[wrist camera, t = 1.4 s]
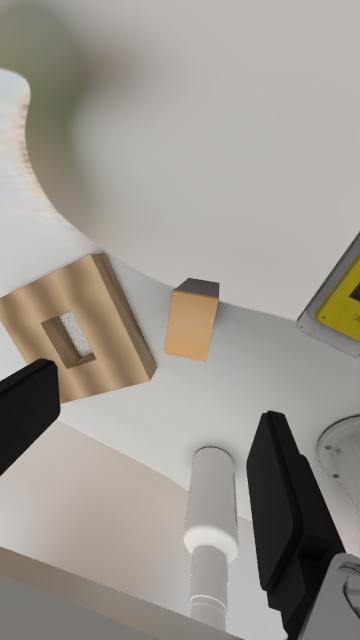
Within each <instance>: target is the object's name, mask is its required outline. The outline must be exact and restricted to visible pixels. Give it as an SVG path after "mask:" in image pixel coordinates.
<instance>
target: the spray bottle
mask: <svg viewBox="0 0 360 640" xmlns="http://www.w3.org/2000/svg"><path fill="white" fill-rule="evenodd" d="M183 536H184V537H183V538H184V544H185V546H186V548H187V550H188V551H189V552H190V553H191V554H192V555H193V557H192V568H191V573H192V576H191V587H190V600H189V602H190V611H191V613H190V618H192V619H194V620H197V621H199V622H202V623H204V624H207V625H209V626H212V627H214V628H216V629H219V630H221V631H224V632H225V621H226V614H227V610H228V608H227V581H228V567H227V563H229V562H231V561H233V560H234V559H235V557H236V556H237V555H238V549H239V541H238V525H237V509H236V492H235V476H234V464H233V461H232V459H231V457H230V456H229V455H228V454H227V453H226V452H224V451H223V450H221V449H218V448H213V447H208V448H203V449H201V450H199V451H198V452H197V453H196V454H195V456H194V458H193V465H192V473H191V480H190V488H189V496H188V503H187V511H186V518H185V526H184V534H183Z"/></svg>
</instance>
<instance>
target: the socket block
mask: <svg viewBox="0 0 360 640" xmlns="http://www.w3.org/2000/svg"><path fill="white" fill-rule="evenodd" d="M69 311H72V313H73V315H74V317H75V319H76V321H77V322H78V324H79V326H80V328H81V330H82V332H83V334H84V336H85V338H86V340H87V342H88V343H89V345H90V347H91V349H92V351H93V353H94V354H92V355H89V356H86V357H83V358H81V357H80V355H79V353H78V351H77V350H76V348H75V346H74V344H73V342H72V340H71V339H70V337H69V335H68V333H67V331H66V329H65V328H64V326H63V324H62V322H61V320H60V318H59V315H62V314H64V313H67V312H69ZM0 321H1V322H2V324H3V326H4V327H5V329H6V330H7V332H8V334H9V335H10V337H11V339H12V340H13V342H14V344H15V345H16V347H17V348H18V350H19V352H20V353H21V355H22V357H23V358H24V360H25V361H26V363H27V365H29V364H31V363H32V362H34V361H36V360H37V359H40V358H44V359H48V360H53V361H54V362H55V364H56V365H57V367H58V380H59V395H60V404H62V403H66V402H70V401H73V400H77V399H81V398H85V397H89V396H93V395H97V394H101V393H105V392H109V391H113V390H116V389H120V388H124V387H128V386H132V385H136V384H140V383H144V382H148V381H150V380H151V378H152V377H153V375H154V373H155V371H156V369H157V366H156V364H155V362H154V360H153V358H152V355H151V353H150V351H149V349H148V347H147V344H146V342H145V340H144V338H143V336H142V333H141V331H140V329H139V327H138V325H137V322H136V320H135V318H134V316H133V314H132V311H131V309H130V307H129V305H128V303H127V300H126V298H125V296H124V294H123V292H122V289H121V287H120V285H119V283H118V281H117V278H116V276H115V274H114V272H113V270H112V267H111V265H110V263H109V261H108V259H107V256H106V254H90V255H88V256H86V257H84V258H82V259H80V260H78V261H76V262H74V263H71V264H69V265H67V266H65V267H63V268H61V269H59V270H57V271H55V272H53V273H51V274H49V275H47V276H45V277H43V278H41V279H38V280H36V281H34V282H32V283H30V284H28V285H26V286H24V287H22V288H20V289H18V290H16V291H14V292H12V293H10V294H8V295H5V296H3V297H1V298H0Z"/></svg>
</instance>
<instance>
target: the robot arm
mask: <svg viewBox="0 0 360 640" xmlns="http://www.w3.org/2000/svg"><path fill="white" fill-rule="evenodd" d="M59 414H60V395H59V380H58V367H57V365H56V364H55V362H54V361H53V360H48V359H44V358H40V359H37V360H36V361H34V362H32V363H31V364H29V365H27V366H25V367H24V368H22V369H20V370H19V371H17V372H15V373H14V374H12V375H10V376H8V377H7V378H5V379H3V380H2V381H0V476H1V475H2V474H3V473H4V472H5V471H6V470H7V469H8V468H9V467H10V466H11V465H12V464H13V463H14V462H15V461H16V460H17V459H18V457H20V456H21V455H22V454H23V453H24V452H25V451H26V450H27V448H29V446H30V445H31V444H32V443H33V442H34V441H35V440H36V439H37V438H38V437H39V436H40V435H41V434H42V433H43V432H44V431H45V430H46V429H47V428H48V427H49V426H50V425H51V424H52V423H53V422H54V421H55V420H56V419H57V418H58V416H59ZM317 456H318V459H319V462H320V464H321V466H322V468H323V470H324V471H325V472H326V474H327V475H328V476H330V477H331V478H332V479H333V480H335V481H337V482H338V483H340V484H342V485H344V486H345V488H346V490H347V492H348V494H349V496H350V498H351V500H352V501H353V503H354V505H355V507H356V509H357V511H358V513H359V515H360V416H359V417H354V418H349V419H346V420H344V421H341V422H339V423H337V424H335V425H333V426H332V427H331V428H329V429H328V430H327V431H326V432H325V433H324V434H323V435H322V437H321V439H320V440H319V443H318V446H317ZM246 469H247V478H248V486H249V495H250V503H251V512H252V520H253V529H254V537H255V546H256V554H257V563H258V571H259V579H260V585H261V588H262V590H264V591H267V598H268V605H269V608H272V609H275V610H278V611H281V617H282V623H283V628H284V630H285V631H286V633H287V634H286V637H285V639H284V640H360V558H358V557H356V556H354V555H352V554H347V553H346V551H345V548H344V546H343V544H342V541H341V539H340V536H339V534H338V532H337V529H336V527H335V524H334V522H333V520H332V517H331V515H330V512H329V510H328V508H327V505H326V503H325V500H324V498H323V496H322V493H321V491H320V488H319V486H318V484H317V481H316V479H315V476H314V474H313V472H312V469H311V467H310V465H309V462H308V460H307V458H306V457H305V456H304V455H301V454H300V453H299V450H298V448H297V445H296V443H295V440H294V438H293V435H292V432H291V430H290V427H289V425H288V422H287V420H286V417H285V415H284V414H283V413H279V412H274V411H270V410H269V411H268V412H267V413H263V414H262V416H261V419H260V422H259V425H258V428H257V431H256V434H255V437H254V440H253V443H252V446H251V449H250V452H249V456H248V459H247V465H246ZM0 640H244V639H241V638H239V637H236V636H233V635H231V634H229V633H226V632H224V631H221V630H219V629H216V628H214V627H212V626H209V625H207V624H204V623H202V622H199V621H197V620H194V619H192V618H189V617H187V616H184V615H182V614H179V613H177V612H174V611H171V610H169V609H166V608H163V607H161V606H158V605H155V604H153V603H150V602H147V601H145V600H142V599H139V598H137V597H134V596H132V595H129V594H126V593H124V592H121V591H118V590H116V589H113V588H110V587H107V586H105V585H102V584H100V583H97V582H94V581H92V580H89V579H86V578H84V577H81V576H78V575H76V574H73V573H70V572H68V571H64V570H62V569H59V568H57V567H54V566H51V565H49V564H46V563H43V562H40V561H38V560H35V559H32V558H29V557H27V556H24V555H22V554H19V553H16V552H13V551H11V550H8V549H5V548H3V547H0Z"/></svg>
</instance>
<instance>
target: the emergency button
mask: <svg viewBox="0 0 360 640" xmlns="http://www.w3.org/2000/svg"><path fill="white" fill-rule="evenodd" d="M297 321H298V323H297V328H298V329H299V330H300V331H301V332H303V333H306V334H308V335H310V336H312V337H314V338H316V339H318V340H320V341H322V342H324V343H326V344H328V345H330V346H332V347H334V348H336V349H338V350H340V351H342V352H344V353H346V354H348V355H351V356H353V357H356V358H360V231H359V233H358V234H357V236H356V237H355V238H354V240H353V241H352V243H351V244H350V246H349V247H348V248H347V250H346V251H345V253H344V254H343V255H342V257H341V258H340V260H339V261H338V262H337V264H336V265H335V267H334V268H333V269H332V271H331V272H330V274H329V275H328V276H327V278H326V279H325V281H324V282H323V283H322V285H321V286H320V288H319V289H318V290H317V292H316V293H315V295H314V296H313V297H312V299H311V300H310V302H309V303H308V305H307V306H306V307H305V309H304V311H303V312H302V313H301V314H300V316H299V317H298V319H297Z"/></svg>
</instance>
